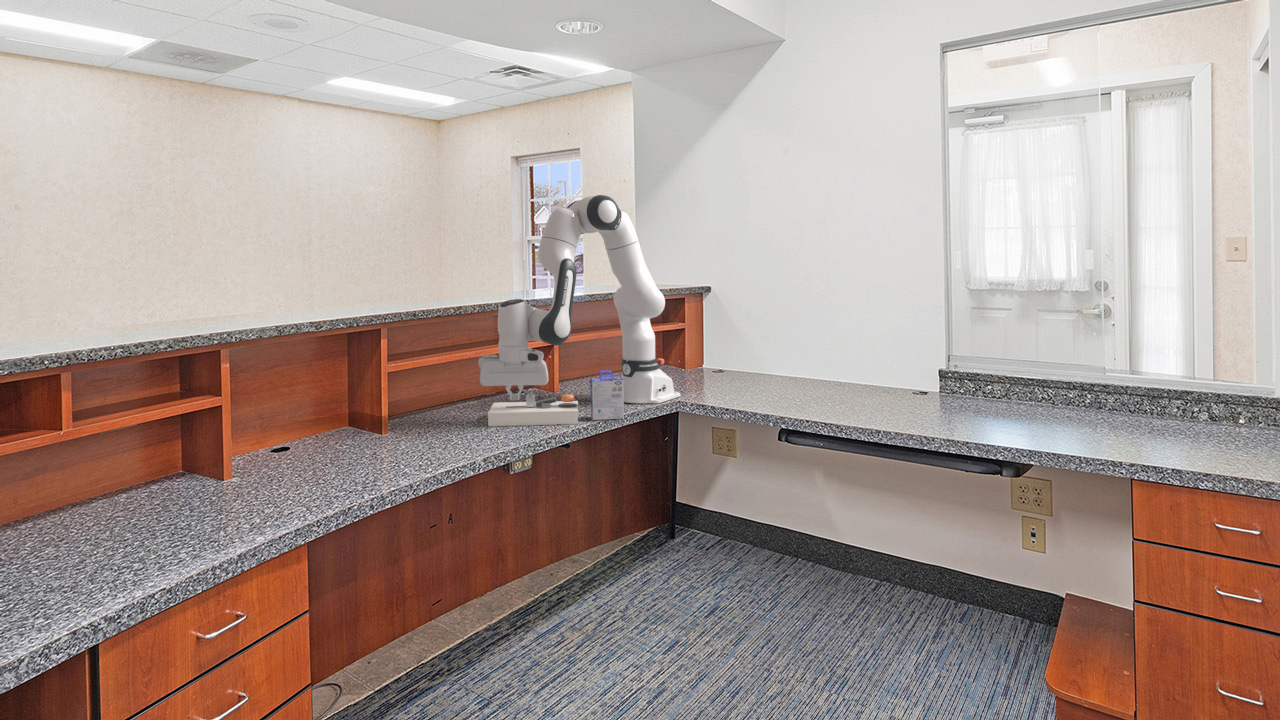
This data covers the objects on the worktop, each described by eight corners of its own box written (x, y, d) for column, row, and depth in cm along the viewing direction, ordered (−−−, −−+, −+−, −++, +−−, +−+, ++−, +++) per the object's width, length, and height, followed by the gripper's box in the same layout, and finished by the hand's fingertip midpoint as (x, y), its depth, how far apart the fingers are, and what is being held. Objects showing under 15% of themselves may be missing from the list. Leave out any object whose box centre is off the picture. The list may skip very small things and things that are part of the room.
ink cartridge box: (621, 414, 224) (621, 368, 221) (625, 419, 218) (624, 371, 216) (589, 416, 222) (589, 370, 219) (592, 420, 216) (591, 373, 214)
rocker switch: (556, 399, 220) (555, 396, 220) (555, 402, 216) (555, 398, 216) (537, 404, 219) (536, 400, 219) (536, 406, 216) (535, 403, 216)
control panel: (578, 413, 226) (577, 396, 225) (577, 424, 212) (577, 405, 212) (494, 415, 224) (493, 397, 223) (488, 426, 211) (487, 407, 210)
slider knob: (535, 404, 219) (534, 393, 219) (534, 406, 216) (534, 395, 215) (527, 404, 219) (527, 393, 219) (526, 406, 216) (526, 395, 215)
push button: (574, 399, 220) (574, 394, 220) (574, 401, 216) (574, 396, 216) (561, 399, 220) (561, 394, 220) (560, 402, 216) (560, 397, 216)
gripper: (476, 356, 211) (478, 402, 213) (547, 355, 212) (548, 401, 214) (479, 353, 217) (481, 398, 219) (548, 352, 219) (549, 397, 221)
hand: (515, 399), depth 217 cm, fingers closed
